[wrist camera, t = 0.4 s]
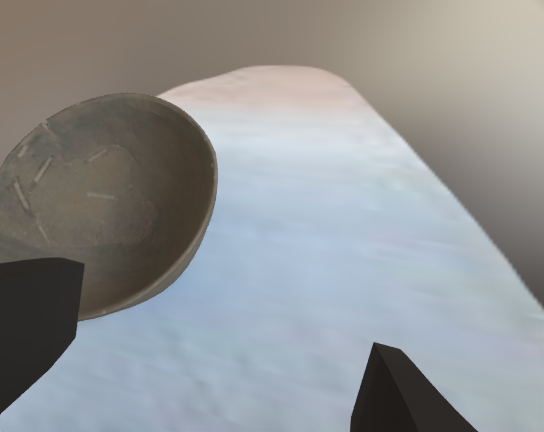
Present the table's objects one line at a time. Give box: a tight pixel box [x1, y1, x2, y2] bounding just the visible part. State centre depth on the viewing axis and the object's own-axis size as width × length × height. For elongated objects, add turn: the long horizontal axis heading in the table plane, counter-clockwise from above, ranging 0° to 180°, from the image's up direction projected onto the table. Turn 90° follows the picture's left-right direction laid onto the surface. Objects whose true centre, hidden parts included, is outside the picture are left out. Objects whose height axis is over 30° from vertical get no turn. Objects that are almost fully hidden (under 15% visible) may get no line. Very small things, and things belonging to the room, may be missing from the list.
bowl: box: [0, 93, 218, 321], centre depth 40 cm, size 19×19×10 cm
